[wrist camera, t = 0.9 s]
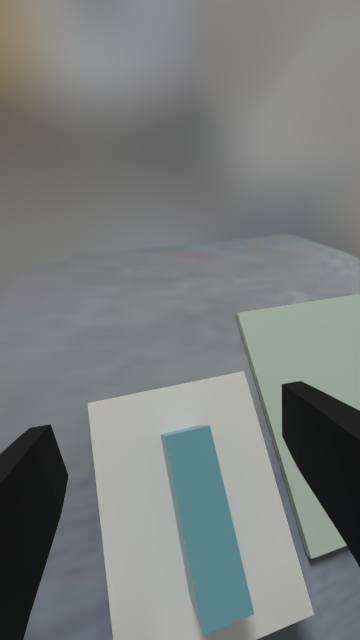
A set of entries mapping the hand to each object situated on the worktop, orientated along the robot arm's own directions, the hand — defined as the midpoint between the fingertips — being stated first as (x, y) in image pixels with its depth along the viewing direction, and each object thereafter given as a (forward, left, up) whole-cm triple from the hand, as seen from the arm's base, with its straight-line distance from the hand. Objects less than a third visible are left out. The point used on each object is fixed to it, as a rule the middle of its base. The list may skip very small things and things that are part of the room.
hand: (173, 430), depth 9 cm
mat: (-1, -16, -13) cm, 20 cm away
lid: (-4, -2, -11) cm, 12 cm away
